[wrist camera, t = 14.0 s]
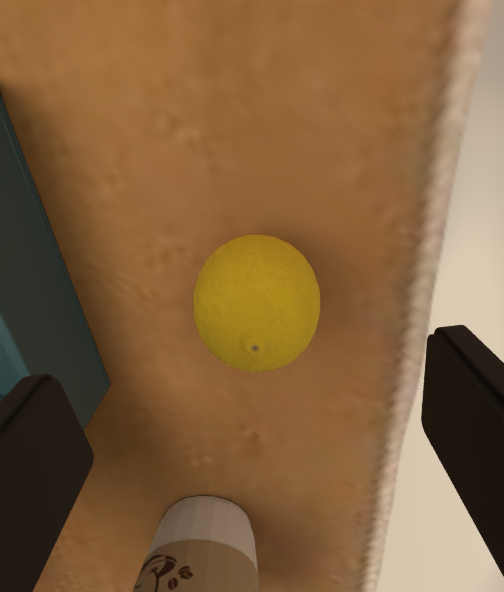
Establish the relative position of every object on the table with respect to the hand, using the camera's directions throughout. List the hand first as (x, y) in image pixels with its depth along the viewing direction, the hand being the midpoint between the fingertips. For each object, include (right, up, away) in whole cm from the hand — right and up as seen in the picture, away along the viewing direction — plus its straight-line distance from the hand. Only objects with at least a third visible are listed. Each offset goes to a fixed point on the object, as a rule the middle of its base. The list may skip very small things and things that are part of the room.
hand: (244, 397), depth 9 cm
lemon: (0, +4, +11) cm, 11 cm away
